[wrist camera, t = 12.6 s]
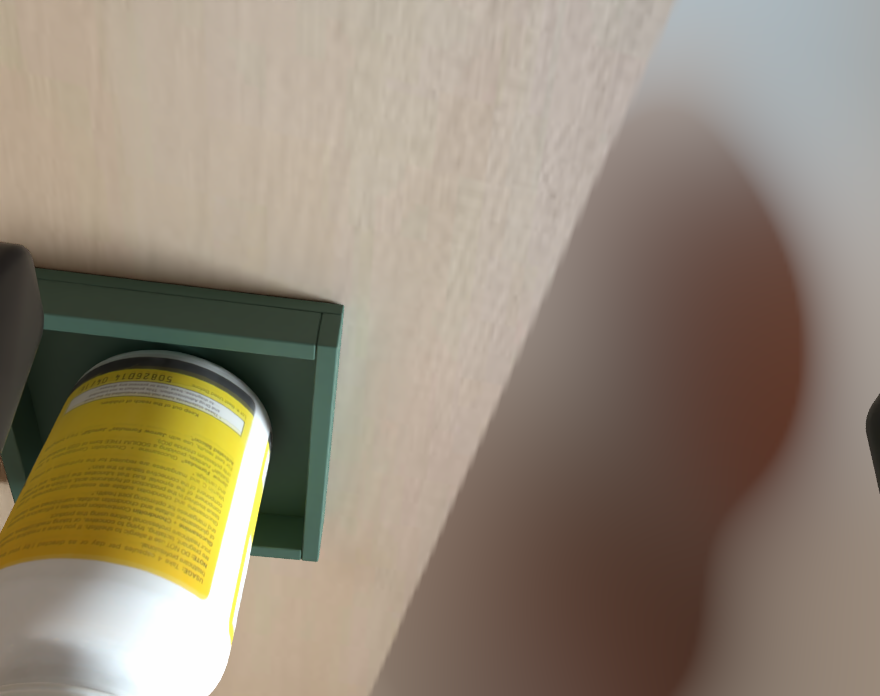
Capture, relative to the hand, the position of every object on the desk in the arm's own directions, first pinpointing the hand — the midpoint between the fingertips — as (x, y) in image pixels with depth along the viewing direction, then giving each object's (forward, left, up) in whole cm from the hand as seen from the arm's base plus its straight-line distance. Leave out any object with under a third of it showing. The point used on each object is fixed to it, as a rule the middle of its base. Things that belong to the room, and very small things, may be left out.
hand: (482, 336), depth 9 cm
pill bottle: (+7, +15, -13) cm, 21 cm away
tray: (+7, +15, -13) cm, 21 cm away
